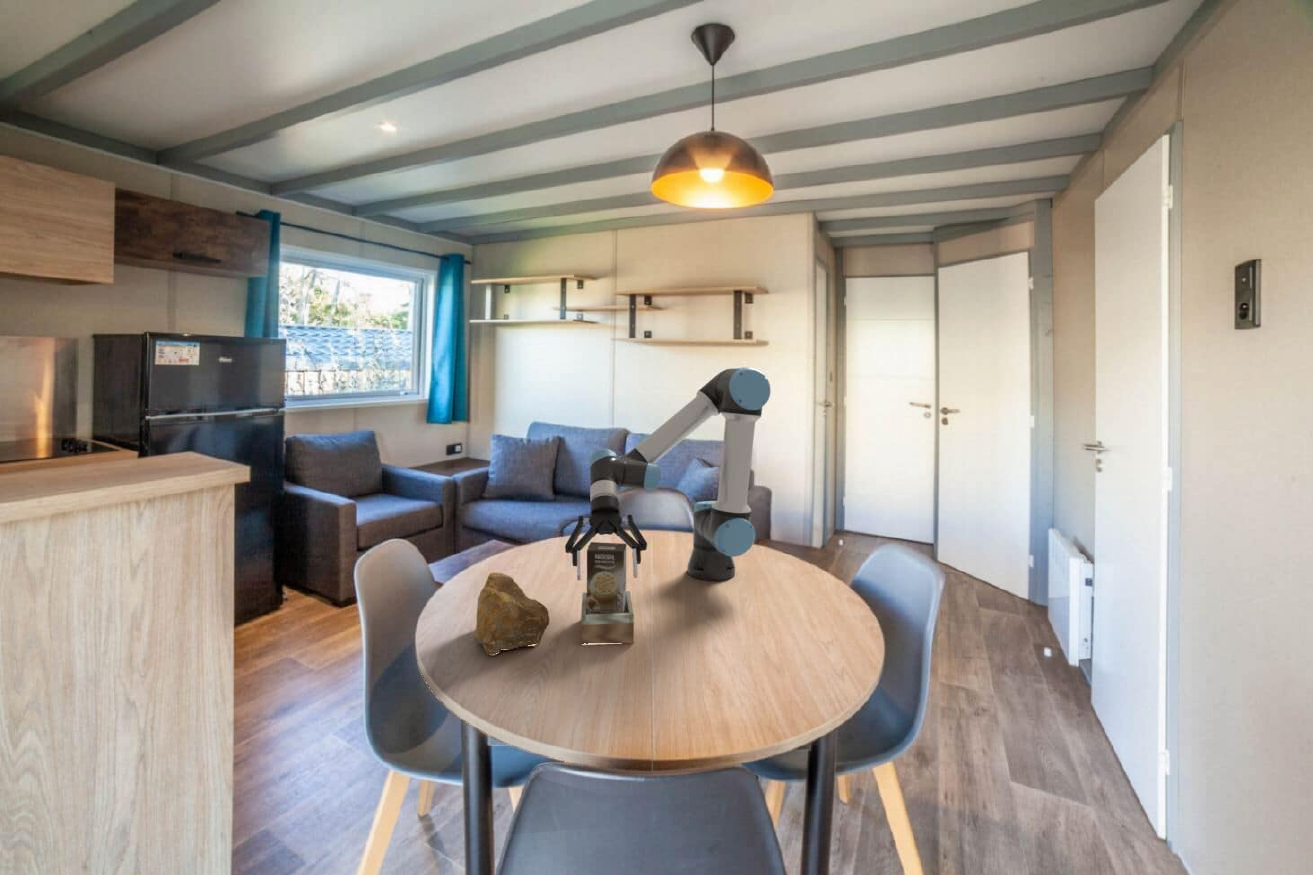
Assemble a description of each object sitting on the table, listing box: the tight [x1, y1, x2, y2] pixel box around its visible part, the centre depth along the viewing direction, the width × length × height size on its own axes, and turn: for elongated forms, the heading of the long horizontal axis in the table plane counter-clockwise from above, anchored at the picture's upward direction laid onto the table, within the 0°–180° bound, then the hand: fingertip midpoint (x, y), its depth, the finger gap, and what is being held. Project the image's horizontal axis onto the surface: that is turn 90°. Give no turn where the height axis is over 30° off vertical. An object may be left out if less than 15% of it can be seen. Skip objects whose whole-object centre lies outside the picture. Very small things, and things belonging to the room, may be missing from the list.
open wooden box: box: [580, 590, 635, 644], centre depth 140 cm, size 12×15×7 cm
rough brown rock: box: [474, 571, 550, 655], centre depth 133 cm, size 23×17×15 cm
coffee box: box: [586, 541, 627, 614], centre depth 139 cm, size 9×6×16 cm
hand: (607, 576), depth 138 cm, fingers open, 13 cm apart
